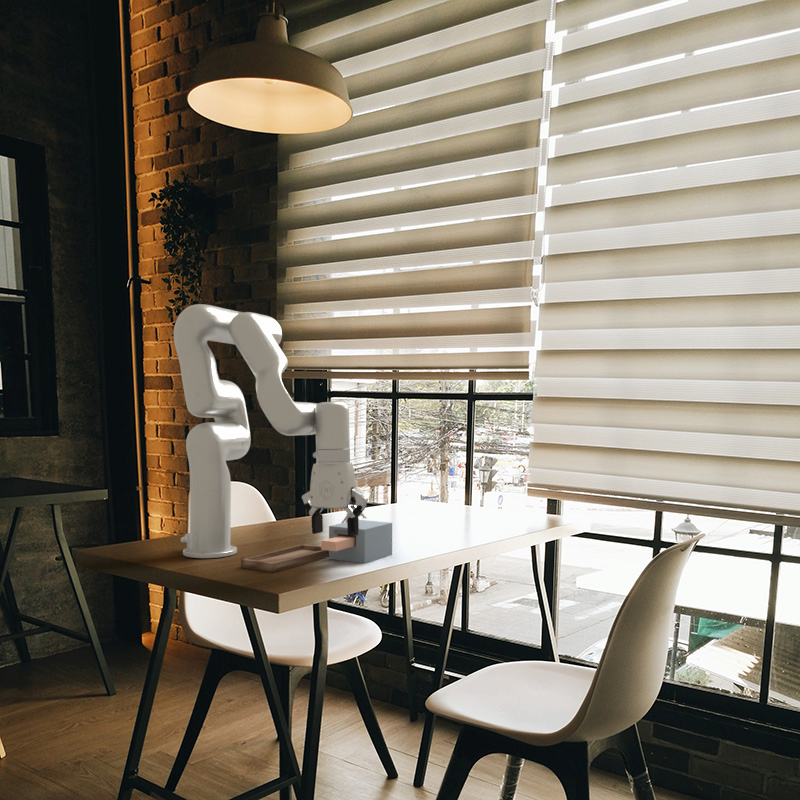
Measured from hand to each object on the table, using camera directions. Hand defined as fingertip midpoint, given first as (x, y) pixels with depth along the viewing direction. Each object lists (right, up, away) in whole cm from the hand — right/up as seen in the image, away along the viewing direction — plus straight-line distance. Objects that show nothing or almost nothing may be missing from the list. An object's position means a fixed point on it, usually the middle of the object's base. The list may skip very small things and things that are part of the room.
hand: (335, 534), depth 161 cm
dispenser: (+5, -7, +10) cm, 14 cm away
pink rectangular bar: (+3, -4, +6) cm, 8 cm away
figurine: (+3, -8, +26) cm, 27 cm away
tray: (-11, -7, +5) cm, 14 cm away
